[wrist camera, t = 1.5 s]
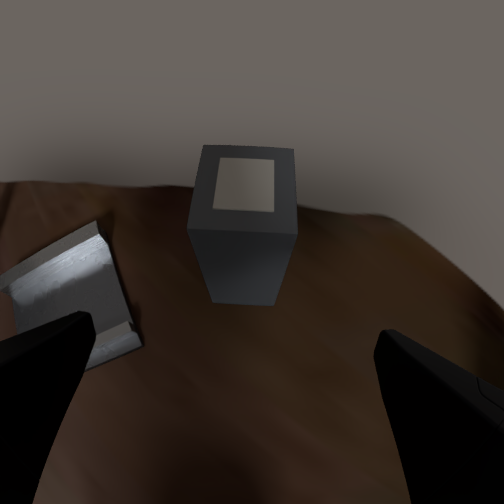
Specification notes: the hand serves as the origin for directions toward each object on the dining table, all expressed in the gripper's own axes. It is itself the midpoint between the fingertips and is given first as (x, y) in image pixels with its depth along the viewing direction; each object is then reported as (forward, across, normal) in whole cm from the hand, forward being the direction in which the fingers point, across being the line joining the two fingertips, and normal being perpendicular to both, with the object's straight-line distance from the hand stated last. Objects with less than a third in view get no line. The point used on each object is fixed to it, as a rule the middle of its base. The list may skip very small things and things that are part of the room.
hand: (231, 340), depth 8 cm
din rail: (+11, +15, +7) cm, 20 cm away
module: (+14, 0, +4) cm, 15 cm away
